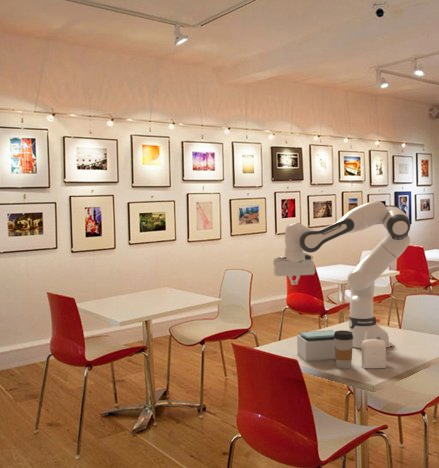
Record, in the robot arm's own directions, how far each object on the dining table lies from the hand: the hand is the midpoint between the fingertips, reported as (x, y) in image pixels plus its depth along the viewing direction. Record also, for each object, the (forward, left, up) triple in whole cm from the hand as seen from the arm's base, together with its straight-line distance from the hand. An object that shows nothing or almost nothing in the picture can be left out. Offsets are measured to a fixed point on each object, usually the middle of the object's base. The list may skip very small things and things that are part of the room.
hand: (294, 284), depth 261 cm
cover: (-7, +18, -21) cm, 28 cm away
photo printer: (-23, +38, -31) cm, 54 cm away
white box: (-7, +18, -31) cm, 36 cm away
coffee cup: (-11, +34, -31) cm, 47 cm away
